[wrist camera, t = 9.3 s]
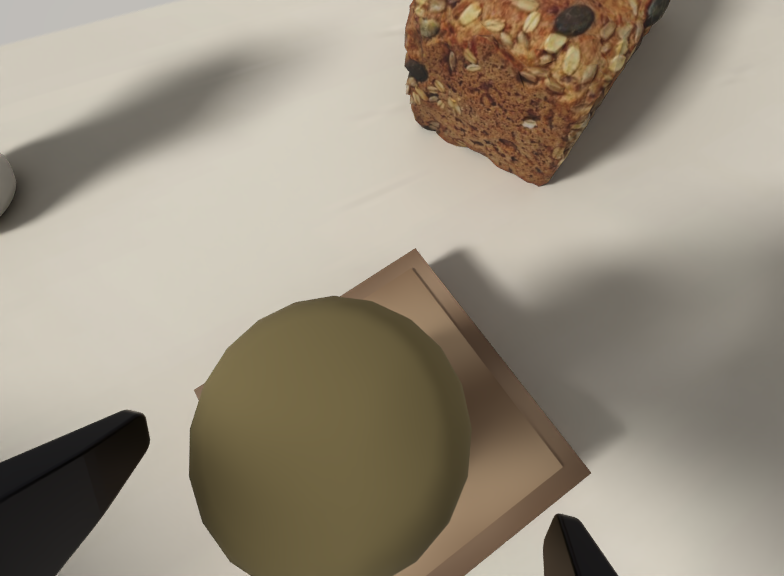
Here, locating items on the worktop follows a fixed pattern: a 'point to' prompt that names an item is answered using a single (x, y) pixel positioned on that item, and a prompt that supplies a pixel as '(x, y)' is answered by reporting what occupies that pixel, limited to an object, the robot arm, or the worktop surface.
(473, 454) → the plate
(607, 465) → the worktop surface
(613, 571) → the robot arm
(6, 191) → the plastic bottle
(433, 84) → the bread
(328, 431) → the cork
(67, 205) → the worktop surface
